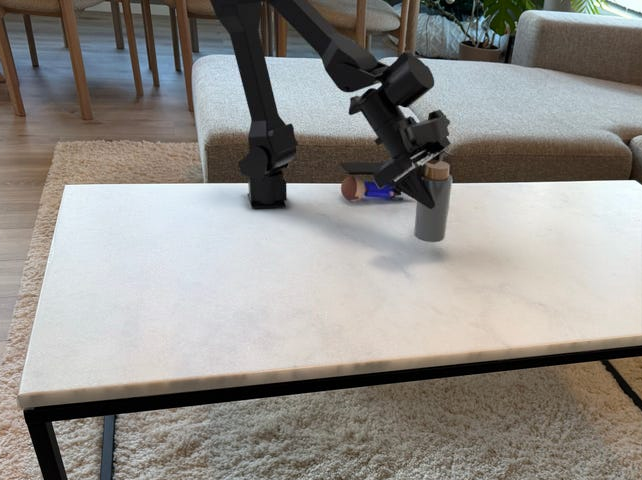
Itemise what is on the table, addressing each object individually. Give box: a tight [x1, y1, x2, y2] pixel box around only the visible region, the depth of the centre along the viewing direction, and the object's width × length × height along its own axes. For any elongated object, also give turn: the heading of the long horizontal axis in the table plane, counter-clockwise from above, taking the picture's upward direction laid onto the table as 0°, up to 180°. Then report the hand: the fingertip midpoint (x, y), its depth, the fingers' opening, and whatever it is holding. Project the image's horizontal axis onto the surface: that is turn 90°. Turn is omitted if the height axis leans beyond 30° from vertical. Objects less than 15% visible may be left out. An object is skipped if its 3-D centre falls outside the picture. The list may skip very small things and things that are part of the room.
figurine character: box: [339, 161, 405, 202], centre depth 141 cm, size 7×8×15 cm
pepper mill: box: [413, 160, 453, 243], centre depth 119 cm, size 6×6×13 cm
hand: (440, 202), depth 119 cm, fingers closed on pepper mill, 5 cm apart
